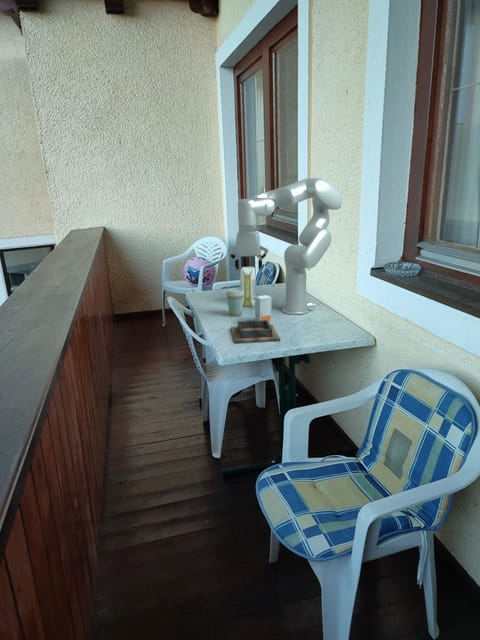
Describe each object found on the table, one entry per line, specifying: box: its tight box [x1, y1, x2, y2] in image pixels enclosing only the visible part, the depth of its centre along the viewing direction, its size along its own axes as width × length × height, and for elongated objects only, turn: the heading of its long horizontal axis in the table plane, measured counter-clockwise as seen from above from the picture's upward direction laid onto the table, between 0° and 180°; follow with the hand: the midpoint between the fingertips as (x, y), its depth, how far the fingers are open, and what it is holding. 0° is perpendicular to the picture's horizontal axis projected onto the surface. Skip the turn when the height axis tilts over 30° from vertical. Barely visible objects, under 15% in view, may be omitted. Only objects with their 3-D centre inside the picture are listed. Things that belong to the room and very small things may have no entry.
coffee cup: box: [225, 288, 244, 318], centre depth 206 cm, size 8×8×12 cm
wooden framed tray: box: [230, 320, 281, 345], centre depth 181 cm, size 18×18×4 cm
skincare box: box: [254, 294, 272, 324], centre depth 194 cm, size 6×4×12 cm
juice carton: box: [239, 266, 257, 308], centre depth 221 cm, size 8×9×19 cm
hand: (248, 269), depth 191 cm, fingers open, 9 cm apart
